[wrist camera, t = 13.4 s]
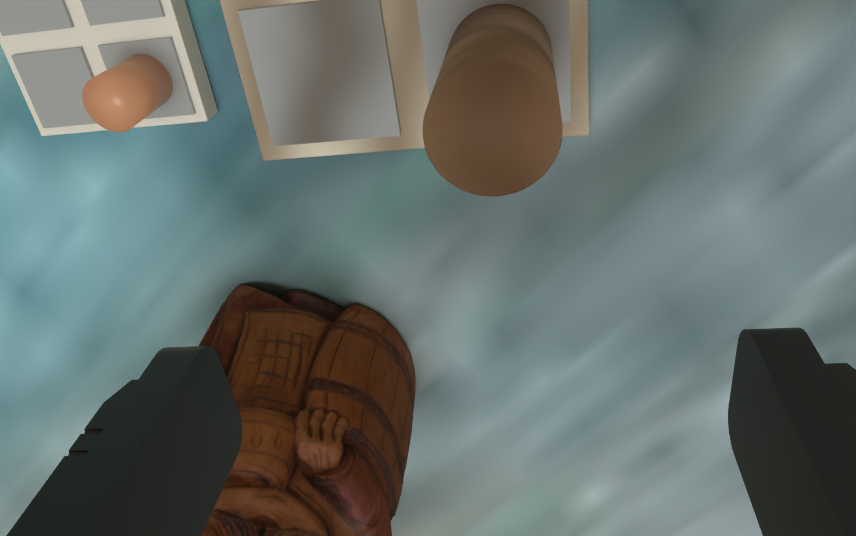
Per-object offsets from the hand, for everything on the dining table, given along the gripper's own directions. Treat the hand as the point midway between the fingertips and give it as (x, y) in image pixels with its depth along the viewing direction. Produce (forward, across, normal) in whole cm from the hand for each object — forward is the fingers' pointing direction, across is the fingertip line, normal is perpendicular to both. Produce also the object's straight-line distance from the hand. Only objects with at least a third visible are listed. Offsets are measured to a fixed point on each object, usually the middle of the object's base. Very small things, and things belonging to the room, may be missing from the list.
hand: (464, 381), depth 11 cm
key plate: (+20, +16, -2) cm, 26 cm away
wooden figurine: (+20, +10, +14) cm, 27 cm away
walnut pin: (+18, 0, 0) cm, 19 cm away
